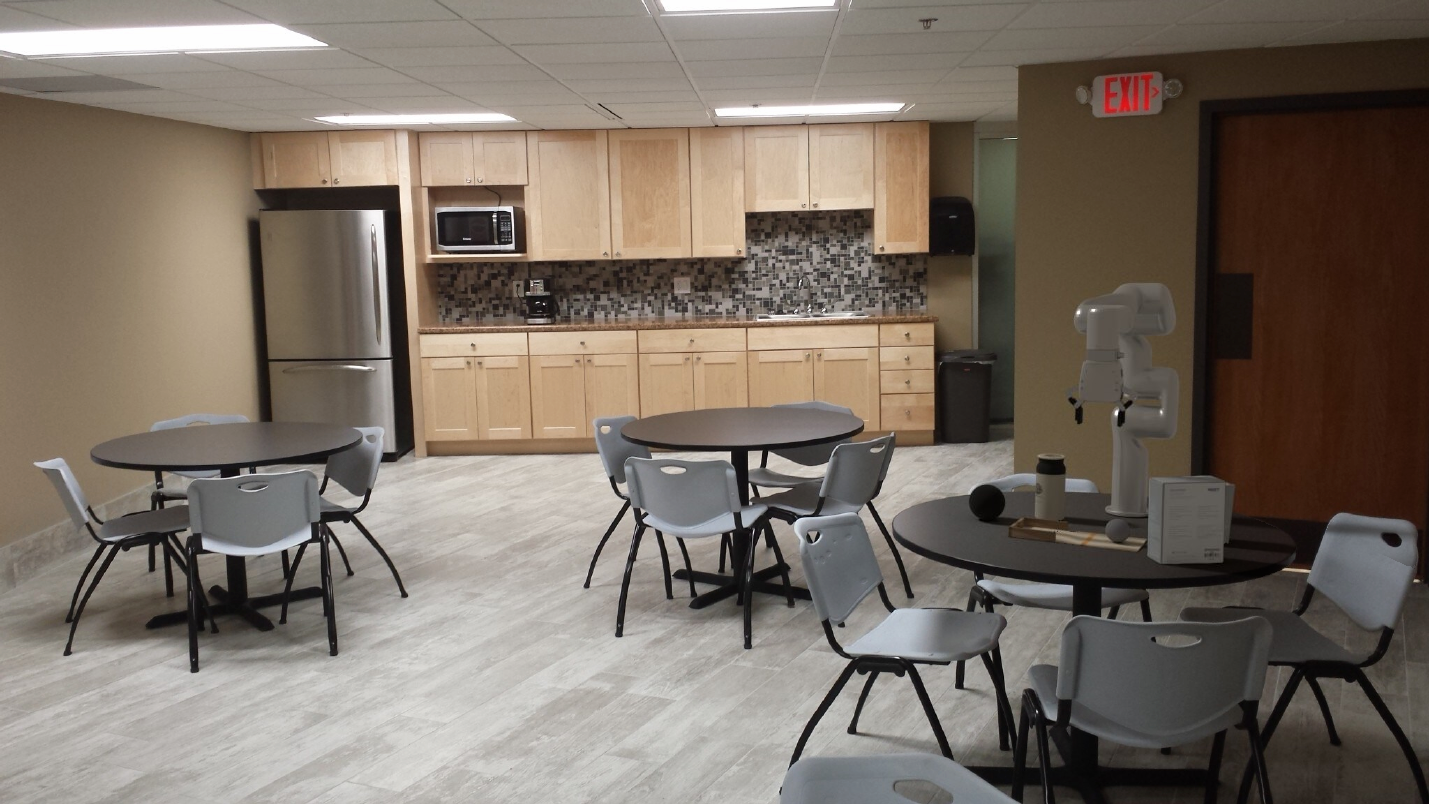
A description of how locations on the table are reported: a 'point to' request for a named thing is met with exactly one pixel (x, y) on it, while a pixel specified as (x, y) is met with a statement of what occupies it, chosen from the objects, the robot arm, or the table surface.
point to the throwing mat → (1068, 535)
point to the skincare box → (1228, 510)
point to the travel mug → (1050, 487)
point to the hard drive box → (1186, 519)
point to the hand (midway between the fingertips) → (1099, 425)
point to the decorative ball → (987, 502)
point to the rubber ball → (1117, 530)
